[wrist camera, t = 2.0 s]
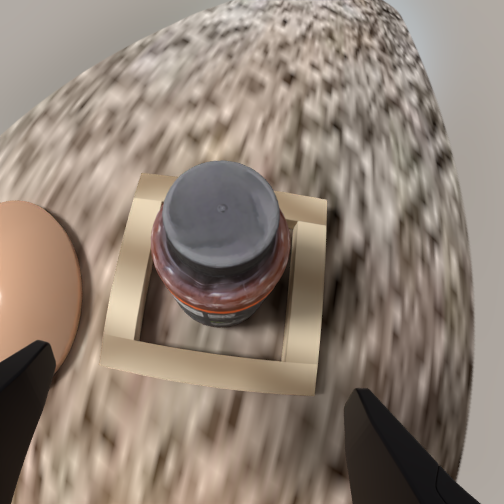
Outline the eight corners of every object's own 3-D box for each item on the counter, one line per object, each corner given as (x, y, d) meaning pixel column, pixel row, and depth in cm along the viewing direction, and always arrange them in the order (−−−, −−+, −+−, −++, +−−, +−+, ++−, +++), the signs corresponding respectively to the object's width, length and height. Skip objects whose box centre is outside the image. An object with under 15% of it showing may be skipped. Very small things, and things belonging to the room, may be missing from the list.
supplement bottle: (233, 225, 23) (250, 115, 12) (281, 298, 22) (345, 237, 11) (157, 268, 21) (109, 182, 11) (203, 346, 20) (190, 334, 9)
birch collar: (307, 393, 20) (314, 395, 18) (106, 365, 19) (98, 365, 17) (320, 209, 24) (326, 200, 22) (145, 183, 23) (141, 172, 22)
